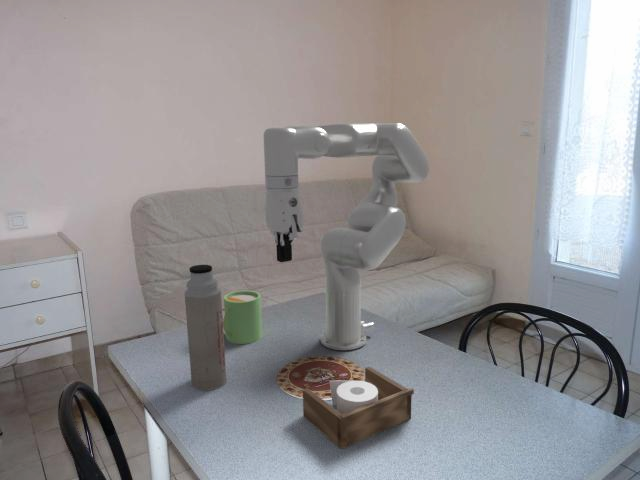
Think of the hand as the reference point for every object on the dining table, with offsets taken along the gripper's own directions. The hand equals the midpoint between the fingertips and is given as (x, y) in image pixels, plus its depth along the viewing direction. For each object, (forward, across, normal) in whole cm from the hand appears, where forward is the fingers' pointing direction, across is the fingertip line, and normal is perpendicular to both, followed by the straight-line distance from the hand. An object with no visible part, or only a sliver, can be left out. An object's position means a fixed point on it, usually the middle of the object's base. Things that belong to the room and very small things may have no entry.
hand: (284, 260), depth 120 cm
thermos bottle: (+27, +4, +19) cm, 34 cm away
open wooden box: (+27, -27, 0) cm, 38 cm away
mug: (+27, +23, +2) cm, 36 cm away
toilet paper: (+27, -27, 0) cm, 38 cm away
